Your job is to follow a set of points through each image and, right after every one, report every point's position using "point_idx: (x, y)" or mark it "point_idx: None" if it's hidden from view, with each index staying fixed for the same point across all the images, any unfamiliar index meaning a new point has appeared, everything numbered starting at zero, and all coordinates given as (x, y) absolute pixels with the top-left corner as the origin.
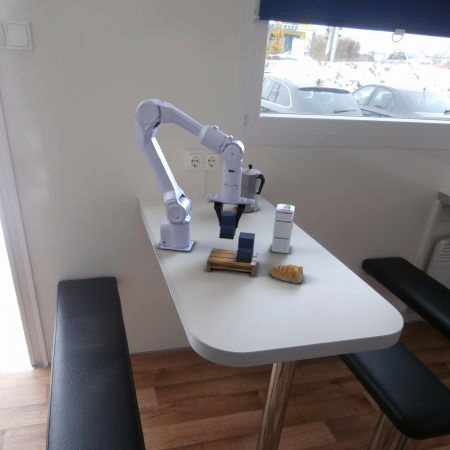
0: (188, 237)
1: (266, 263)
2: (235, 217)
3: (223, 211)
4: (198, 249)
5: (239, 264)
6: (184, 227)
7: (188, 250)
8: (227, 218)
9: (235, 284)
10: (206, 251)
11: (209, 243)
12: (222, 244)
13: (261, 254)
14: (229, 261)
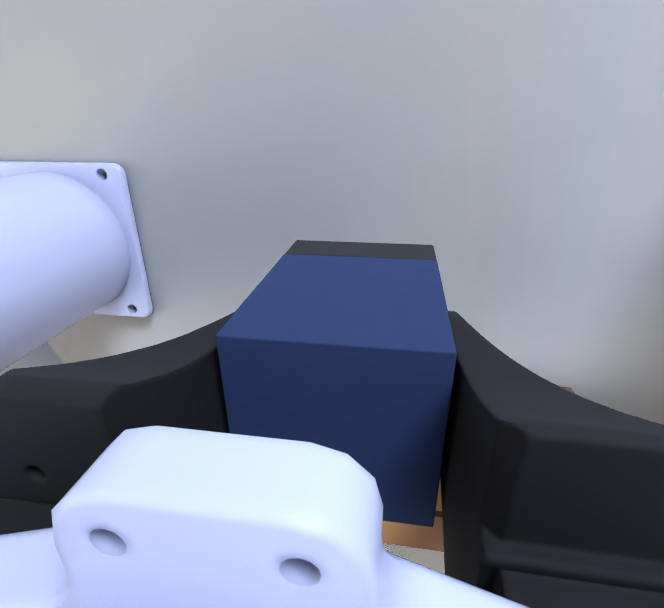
0: (86, 298)
1: (640, 383)
2: (430, 517)
3: (224, 372)
4: (194, 267)
5: None
6: (3, 368)
7: (149, 313)
8: None
9: (442, 565)
10: (247, 285)
11: (230, 150)
12: (325, 143)
13: (634, 259)
14: (406, 540)
